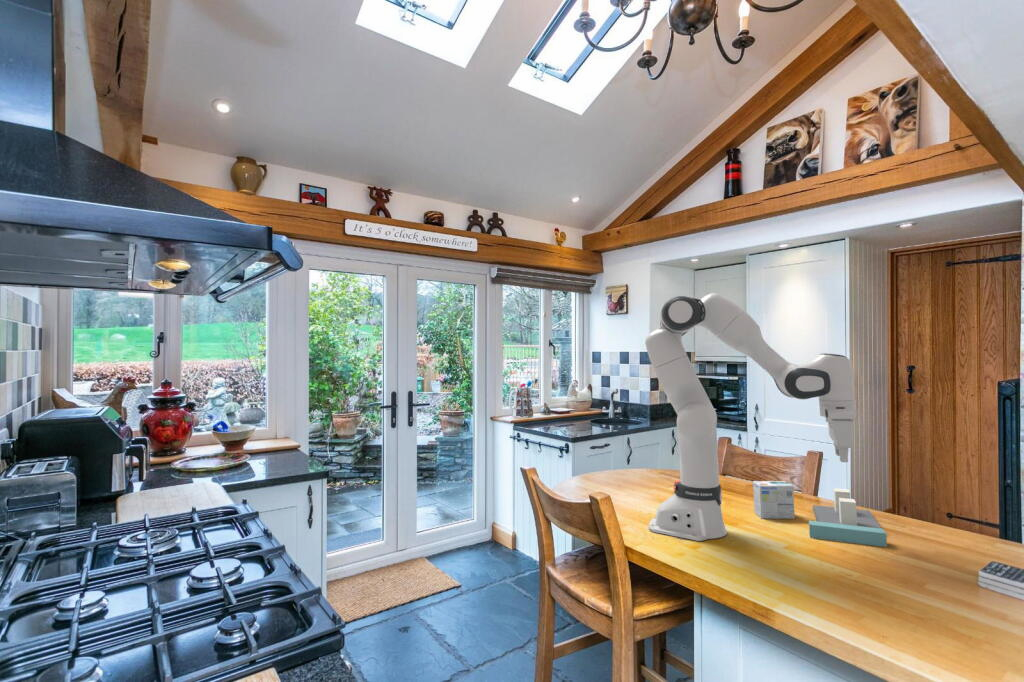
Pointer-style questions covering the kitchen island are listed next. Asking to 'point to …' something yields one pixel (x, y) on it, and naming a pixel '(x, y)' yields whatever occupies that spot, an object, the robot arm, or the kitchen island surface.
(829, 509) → the board
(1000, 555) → the kitchen island surface
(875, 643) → the kitchen island surface
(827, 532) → the beam
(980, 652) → the kitchen island surface
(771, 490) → the light bulb box
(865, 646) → the kitchen island surface
